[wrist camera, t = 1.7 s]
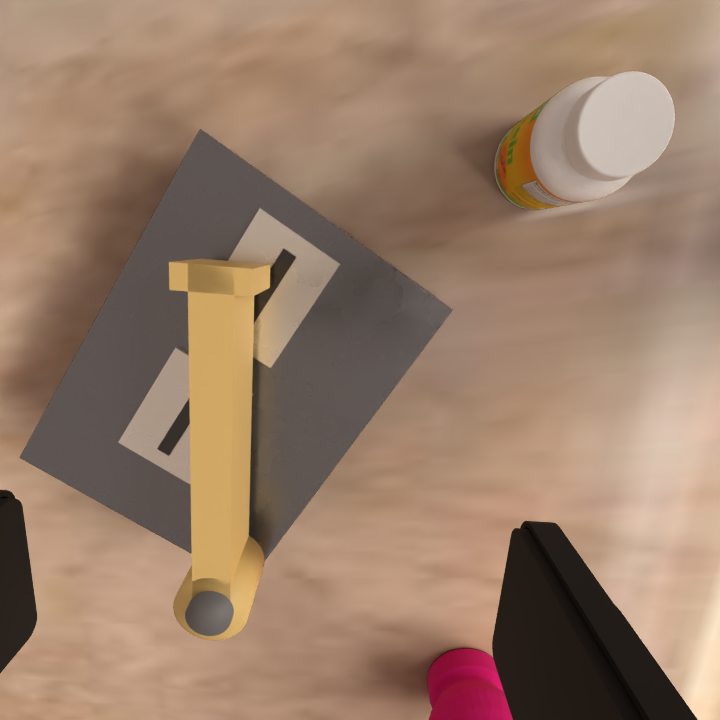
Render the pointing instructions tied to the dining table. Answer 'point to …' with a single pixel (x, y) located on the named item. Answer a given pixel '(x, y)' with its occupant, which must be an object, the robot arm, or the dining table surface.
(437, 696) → the pepper mill
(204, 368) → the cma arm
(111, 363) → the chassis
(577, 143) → the supplement bottle
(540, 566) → the robot arm
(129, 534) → the dining table surface
